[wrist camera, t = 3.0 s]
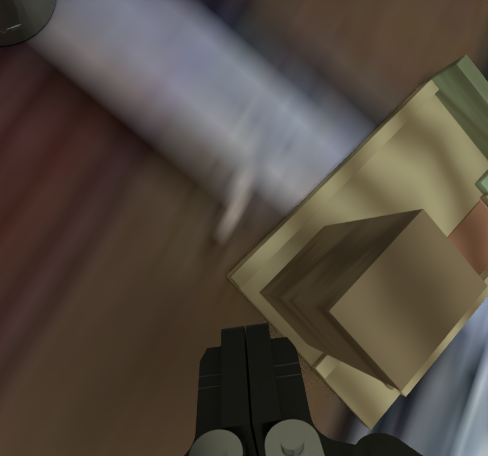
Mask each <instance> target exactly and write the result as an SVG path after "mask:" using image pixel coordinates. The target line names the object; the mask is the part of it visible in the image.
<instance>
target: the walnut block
mask: <svg viewBox="0 0 488 456" xmlns="http://www.w3.org/2000/svg"><path fill="white" fill-rule="evenodd" d="M486 287H487V284H486V283H485V282H484V281H483V280H482V278H481V277H480V276H479V275H478V274H477V272H476V271H475V270H474V269H473V268H472V266H471V265H470V264H469V263H468V262H467V260H466V259H465V258H464V257H463V256H462V254H461V253H460V252H459V251H458V250H457V248H456V247H455V246H454V245H453V244H452V242H451V241H450V240H449V239H448V238H447V237H446V235H445V234H444V233H443V232H442V231H441V229H440V228H439V227H438V226H437V225H436V223H435V222H434V221H433V220H432V219H431V217H430V216H429V215H428V214H427V213H426V211H425V210H424V209H419V210H413V211H407V212H401V213H396V214H390V215H384V216H378V217H373V218H367V219H361V220H355V221H350V222H344V223H338V224H333V225H327V226H324V227H323V228H322V229H321V230H320V231H319V232H318V233H317V234H316V235H315V236H314V237H313V238H312V239H311V240H310V241H309V242H308V243H307V244H306V245H305V246H304V247H303V248H302V249H301V250H300V251H299V252H298V254H297V255H296V256H295V257H294V258H293V259H292V260H291V261H290V262H289V263H288V264H287V265H286V266H285V267H284V268H283V269H282V270H281V271H280V272H279V273H278V274H277V275H276V276H275V277H274V278H273V279H272V280H271V281H270V282H269V283H268V284H267V285H266V286H265V287H264V288H263V289H262V290H261V291H260V292H259V293H260V294H261V295H262V296H263V297H264V298H265V299H266V300H267V301H268V302H269V304H270V305H271V306H272V307H273V308H274V309H275V310H276V311H277V312H278V313H279V314H280V315H281V317H282V318H283V319H284V320H285V321H286V322H287V323H288V324H289V325H290V326H291V327H292V328H293V330H294V331H295V332H296V333H297V334H298V335H299V336H300V337H301V338H302V339H303V340H304V341H305V343H306V344H307V345H309V346H311V347H313V348H315V349H317V350H319V351H321V352H323V353H325V354H327V355H329V356H331V357H333V358H335V359H337V360H339V361H341V362H343V363H345V364H347V365H349V366H351V367H353V368H355V369H357V370H359V371H361V372H364V373H366V374H368V375H370V376H372V377H374V378H376V379H378V380H380V381H382V382H384V383H386V384H388V385H390V386H392V387H394V388H396V389H398V390H400V391H402V390H403V389H404V388H405V386H406V385H407V384H408V383H409V382H410V380H411V379H412V378H413V377H414V375H415V374H416V373H417V372H418V371H419V369H420V368H421V367H422V366H423V364H424V363H425V362H426V361H427V360H428V358H429V357H430V356H431V355H432V353H433V352H434V351H435V350H436V349H437V347H438V346H439V345H440V344H441V342H442V341H443V340H444V339H445V338H446V336H447V335H448V334H449V333H450V331H451V330H452V329H453V328H454V327H455V325H456V324H457V323H458V322H459V320H460V319H461V318H462V317H463V316H464V314H465V313H466V312H467V311H468V309H469V308H470V307H471V306H472V305H473V303H474V302H475V301H476V300H477V298H478V297H479V296H480V295H481V294H482V292H483V291H484V290H485V289H486Z"/></svg>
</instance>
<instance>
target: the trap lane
mask: <svg viewBox="0 0 488 456" xmlns="http://www.w3.org/2000/svg"><path fill="white" fill-rule="evenodd" d="M419 209H424V210H425V211H426V213H427V214H428V215H429V216H430V217H431V219H432V220H433V221H434V222H435V223H436V225H437V226H438V227H439V228H440V229H441V231H442V232H443V233H444V234H445V235H446V237H447V238H448V239H449V240H450V241H451V242H452V244H453V245H454V246H455V247H456V248H457V250H458V251H459V252H460V253H461V254H462V256H463V257H464V258H465V259H466V260H467V262H468V263H469V264H470V265H471V266H472V268H473V269H474V270H475V271H476V272H477V274H478V275H479V276H480V277H481V278H482V280H483V281H484V282H485V283H486V284H487V287H486V289H485V290H484V291H483V292H482V294H481V295H480V296H479V297H478V298H477V300H476V301H475V302H474V303H473V305H472V306H471V307H470V308H469V309H468V311H467V312H466V313H465V314H464V316H463V317H462V318H461V319H460V320H459V322H458V323H457V324H456V325H455V327H454V328H453V329H452V330H451V331H450V333H449V334H448V335H447V336H446V338H445V339H444V340H443V341H442V342H441V344H440V345H439V346H438V347H437V349H436V350H435V351H434V352H433V353H432V355H431V356H430V357H429V358H428V360H427V361H426V362H425V363H424V364H423V366H422V367H421V368H420V369H419V371H418V372H417V373H416V374H415V375H414V377H413V378H412V379H411V380H410V382H409V383H408V384H407V385H406V386H405V388H404V389H403V390H402V391H400V390H398V389H396V388H394V387H392V386H390V385H388V384H386V383H384V382H382V381H380V380H378V379H376V378H374V377H372V376H370V375H368V374H366V373H364V372H361V371H359V370H357V369H355V368H353V367H351V366H349V365H347V364H345V363H343V362H341V361H339V360H337V359H335V358H333V357H331V356H329V355H327V354H325V353H323V352H321V351H319V350H317V349H315V348H313V347H311V346H309V345H307V344H306V343H305V341H304V340H303V339H302V338H301V337H300V336H299V335H298V334H297V333H296V332H295V331H294V330H293V328H292V327H291V326H290V325H289V324H288V323H287V322H286V321H285V320H284V319H283V318H282V317H281V315H280V314H279V313H278V312H277V311H276V310H275V309H274V308H273V307H272V306H271V305H270V304H269V302H268V301H267V300H266V299H265V298H264V297H263V296H262V295H261V294H260V293H259V292H260V291H261V290H262V289H263V288H264V287H265V286H266V285H267V284H268V283H269V282H270V281H271V280H272V279H273V278H274V277H275V276H276V275H277V274H278V273H279V272H280V271H281V270H282V269H283V268H284V267H285V266H286V265H287V264H288V263H289V262H290V261H291V260H292V259H293V258H294V257H295V256H296V255H297V254H298V252H299V251H300V250H301V249H302V248H303V247H304V246H305V245H306V244H307V243H308V242H309V241H310V240H311V239H312V238H313V237H314V236H315V235H316V234H317V233H318V232H319V231H320V230H321V229H322V228H323V227H324V226H327V225H333V224H338V223H344V222H350V221H355V220H361V219H367V218H373V217H378V216H384V215H390V214H396V213H401V212H407V211H413V210H419ZM226 277H227V278H228V279H229V280H230V281H231V282H232V283H233V284H234V285H235V287H236V288H237V289H238V290H239V291H240V292H241V293H242V294H243V295H244V296H245V297H246V298H247V299H248V300H249V302H250V303H251V304H252V305H253V306H254V307H255V308H256V309H257V310H258V311H259V312H260V313H261V314H262V316H263V317H264V318H265V319H266V320H267V321H268V322H269V323H270V324H271V325H272V326H273V327H274V328H275V329H276V331H277V332H278V333H279V334H280V335H281V336H282V337H288V338H289V340H290V341H291V342H292V343H293V345H294V346H295V347H296V349H297V353H298V354H299V355H300V356H301V357H302V359H303V360H304V361H305V362H306V363H307V364H308V365H309V366H310V367H311V368H312V369H313V370H314V371H315V372H316V374H317V375H318V376H319V377H320V378H321V379H322V380H323V381H324V382H325V383H326V384H327V385H328V386H329V388H330V389H331V390H332V391H333V392H334V393H335V394H336V395H337V396H338V397H339V398H340V399H341V400H342V402H343V403H344V404H345V405H346V406H347V407H348V408H349V409H350V410H351V411H352V412H353V413H354V414H355V415H356V417H357V418H358V419H359V420H360V421H361V422H362V423H363V424H364V425H365V426H366V427H368V428H369V429H370V430H371V429H372V428H373V426H374V425H375V424H376V423H377V422H378V420H379V419H380V418H381V417H382V415H383V414H384V413H385V412H386V411H387V409H388V408H389V407H390V406H391V404H392V403H393V402H394V401H395V400H396V398H397V397H398V396H399V395H400V394H402V395H404V396H407V395H408V393H409V392H410V391H411V390H412V388H413V387H414V386H415V385H416V384H417V382H418V381H419V380H420V379H421V377H422V376H423V375H424V374H425V372H426V371H427V370H428V369H429V368H430V366H431V365H432V364H433V363H434V361H435V360H436V359H437V358H438V356H439V355H440V354H441V353H442V352H443V350H444V349H445V348H446V347H447V345H448V344H449V343H450V342H451V340H452V339H453V338H454V337H455V336H456V334H457V333H458V332H459V331H460V329H461V328H462V327H463V326H464V324H465V323H466V322H467V321H468V320H469V318H470V317H471V316H472V315H473V313H474V312H475V311H476V310H477V308H478V307H479V306H480V305H481V304H482V302H483V301H484V300H485V299H486V297H487V296H488V82H487V80H486V79H485V78H484V77H483V75H482V74H481V73H480V71H479V70H478V69H477V68H476V66H475V65H474V64H473V62H472V61H471V60H470V59H469V57H468V56H467V55H464V56H463V57H461V58H460V59H458V60H456V61H455V62H453V63H451V64H450V65H448V66H447V67H445V68H443V69H442V70H440V71H439V72H437V73H435V74H434V75H432V76H430V77H429V78H427V79H426V80H425V81H424V82H423V83H422V84H421V85H420V86H419V87H418V88H417V89H416V90H415V91H414V92H413V93H412V94H411V95H410V96H409V97H408V98H407V99H406V100H405V101H404V102H403V103H402V104H401V105H400V106H399V107H398V108H397V109H396V110H395V111H394V112H393V113H392V114H391V115H390V116H389V117H388V118H387V119H386V120H385V121H384V122H382V123H381V124H380V125H379V126H378V127H377V128H376V129H375V130H374V131H373V132H372V133H371V134H370V135H369V136H368V137H367V138H366V139H365V140H364V141H363V142H362V143H361V144H360V145H359V146H358V147H357V148H356V149H355V150H354V151H353V152H352V153H351V154H350V155H349V156H348V157H347V158H346V159H345V160H344V161H343V162H342V163H341V164H340V165H339V166H338V167H337V168H336V169H335V170H334V171H333V172H331V173H330V174H329V175H328V176H327V177H326V178H325V179H324V180H323V181H322V182H321V183H320V184H319V185H318V186H317V187H316V188H315V189H314V190H313V191H312V192H311V193H310V194H309V195H308V196H307V197H306V198H305V199H304V200H303V201H302V202H301V203H300V204H299V205H298V206H297V207H296V208H295V209H294V210H293V211H292V212H291V213H290V214H289V215H288V216H287V217H286V218H285V219H284V220H283V221H282V222H281V223H279V224H278V225H277V226H276V227H275V228H274V229H273V230H272V231H271V232H270V233H269V234H268V235H267V236H266V237H265V238H264V239H263V240H262V241H261V242H260V243H259V244H258V245H257V246H256V247H255V248H254V249H253V250H252V251H251V252H250V253H249V254H248V255H247V256H246V257H245V258H244V259H243V260H242V261H241V262H240V263H239V264H238V265H237V266H236V267H235V268H234V269H233V270H232V271H231V272H230V273H228V274H227V275H226Z"/></svg>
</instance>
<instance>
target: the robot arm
mask: <svg viewBox="0 0 488 456" xmlns="http://www.w3.org/2000/svg"><path fill="white" fill-rule="evenodd" d="M55 4H56V0H0V46H5V45H13V44H16V43H19V42H22V41H25V40H27V39H28V38H30V37H32V36H33V35H35V34H37V33H38V32H39V31H40V30H41V29H42V28H43V27H44V26H45V25H46V23H47V22H48V20H49V19H50V17H51V16H52V13H53V10H54V7H55ZM198 388H199V390H198V402H197V418H196V434H195V439H194V442H193V444H192V446H191V448H190V449H189V451H188V452H187V453H186V454H185V456H422V455H421V454H419V453H418V452H416V451H415V450H414V449H412V448H411V447H409V446H408V445H406V444H405V443H403V442H402V441H401V440H399V439H397V438H396V437H394V436H391V435H388V434H384V433H373V434H369V435H366V436H364V437H363V438H361V439H360V440H359V441H358V442H357V444H356V445H354V444H348V443H343V442H338V441H334V440H332V439H329V438H327V437H326V436H324V435H323V434H321V433H320V432H319V431H318V430H317V429H316V427H315V426H314V424H313V422H312V420H311V416H310V411H309V406H308V402H307V397H306V392H305V387H304V383H303V378H302V373H301V368H300V364H299V359H298V354H297V349H296V347H295V346H294V345H293V343H292V342H291V341H290V340H289V338H288V337H282V338H275V339H271V337H270V331H269V325H268V323H262V324H255V325H248V326H246V331H245V327H244V326H241V327H234V328H227V329H222V330H221V346H220V347H213V348H207V350H206V352H205V353H204V355H203V357H202V359H201V361H200V369H199V386H198Z"/></svg>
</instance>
